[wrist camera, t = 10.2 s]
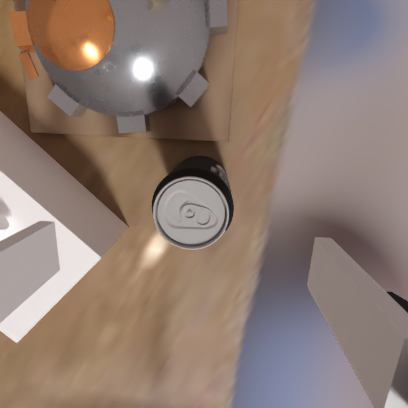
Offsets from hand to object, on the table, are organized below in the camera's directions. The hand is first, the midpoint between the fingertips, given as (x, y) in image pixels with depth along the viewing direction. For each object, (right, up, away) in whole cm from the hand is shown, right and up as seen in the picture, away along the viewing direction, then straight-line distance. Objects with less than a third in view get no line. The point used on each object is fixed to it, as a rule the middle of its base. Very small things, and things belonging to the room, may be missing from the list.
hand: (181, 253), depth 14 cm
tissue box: (-22, +4, +20) cm, 30 cm away
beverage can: (+1, +5, +18) cm, 19 cm away
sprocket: (-7, +20, +13) cm, 25 cm away
